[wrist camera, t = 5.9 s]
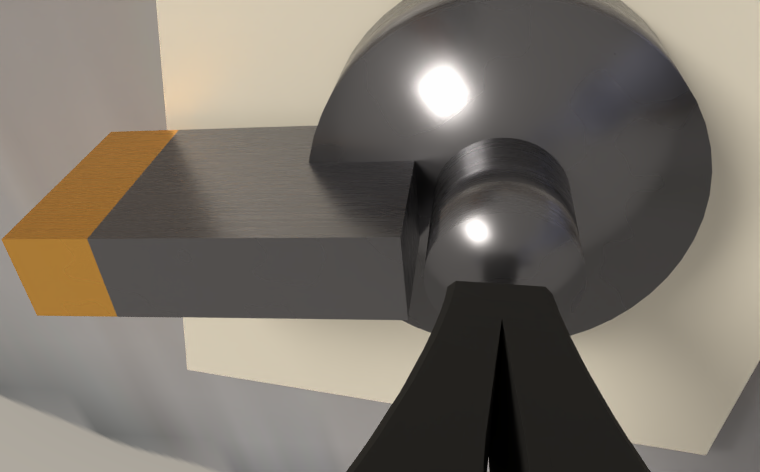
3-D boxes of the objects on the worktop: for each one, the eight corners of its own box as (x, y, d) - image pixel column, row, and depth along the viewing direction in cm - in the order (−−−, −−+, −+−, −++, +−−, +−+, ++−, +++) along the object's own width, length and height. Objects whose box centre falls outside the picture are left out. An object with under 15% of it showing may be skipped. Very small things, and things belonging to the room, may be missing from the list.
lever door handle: (713, -47, 12) (813, 39, 8) (659, 286, 15) (711, 445, 12) (77, -6, 13) (-73, 80, 10) (170, 283, 17) (87, 421, 14)
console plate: (1087, -308, 10) (1152, -316, 9) (696, 425, 19) (707, 461, 18) (148, -409, 11) (113, -427, 10) (199, 344, 20) (184, 375, 19)
